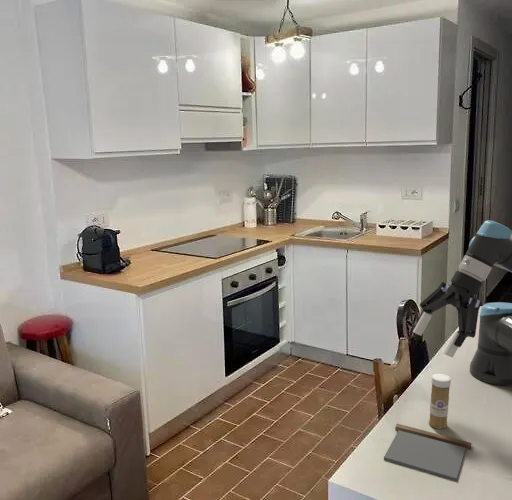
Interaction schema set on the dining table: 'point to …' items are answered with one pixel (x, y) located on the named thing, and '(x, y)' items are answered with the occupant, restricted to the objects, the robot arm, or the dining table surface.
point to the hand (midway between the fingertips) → (431, 344)
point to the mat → (426, 454)
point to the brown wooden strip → (434, 436)
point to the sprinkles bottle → (439, 400)
